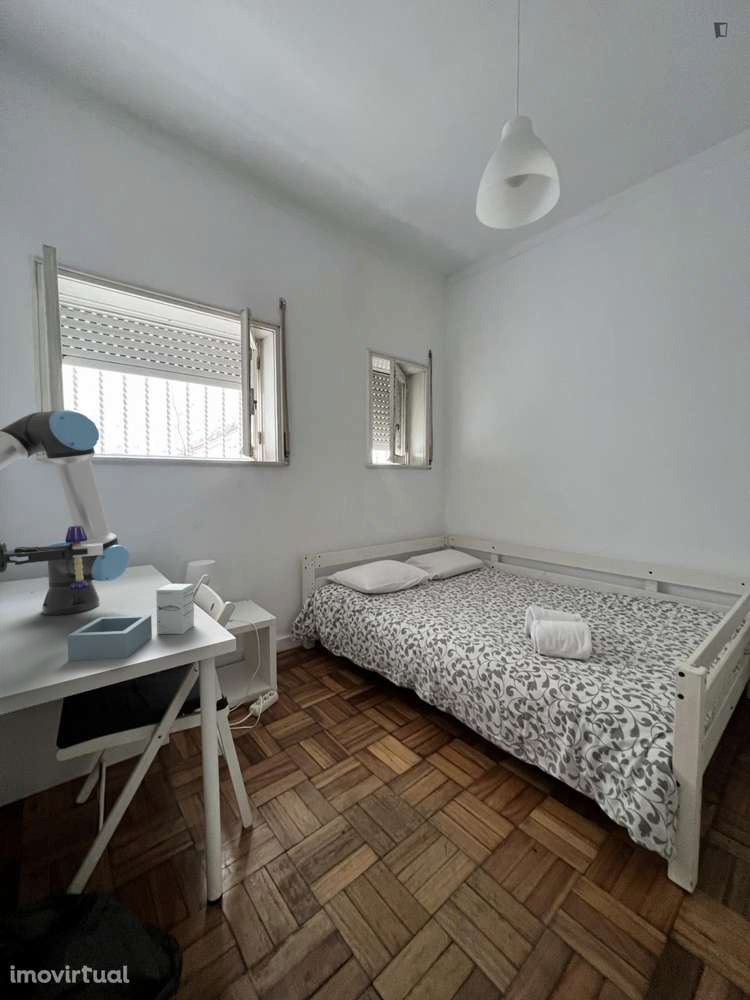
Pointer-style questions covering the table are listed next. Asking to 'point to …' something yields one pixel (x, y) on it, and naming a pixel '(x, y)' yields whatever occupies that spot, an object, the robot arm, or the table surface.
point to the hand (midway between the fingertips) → (102, 548)
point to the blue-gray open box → (109, 637)
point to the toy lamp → (77, 536)
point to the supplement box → (175, 608)
